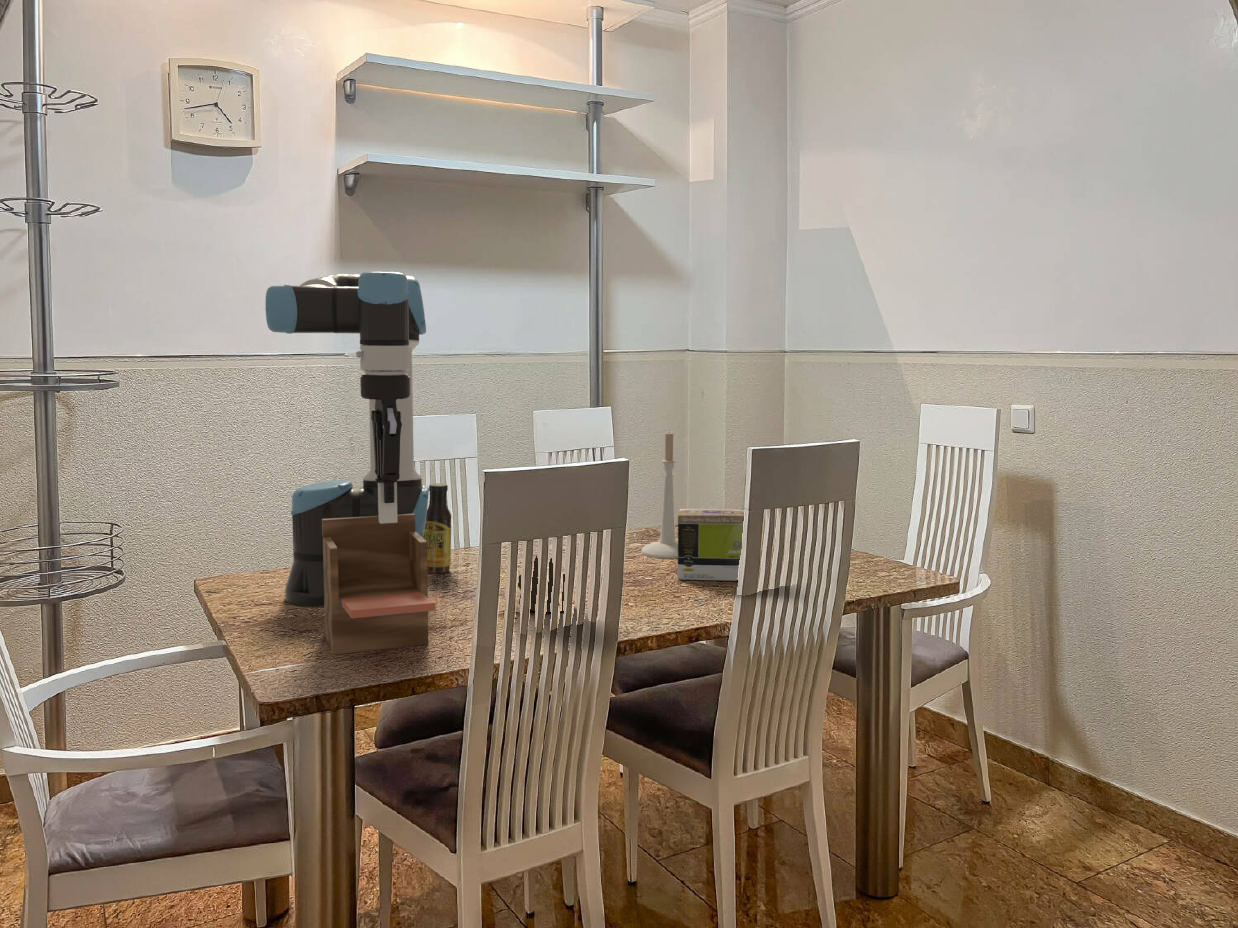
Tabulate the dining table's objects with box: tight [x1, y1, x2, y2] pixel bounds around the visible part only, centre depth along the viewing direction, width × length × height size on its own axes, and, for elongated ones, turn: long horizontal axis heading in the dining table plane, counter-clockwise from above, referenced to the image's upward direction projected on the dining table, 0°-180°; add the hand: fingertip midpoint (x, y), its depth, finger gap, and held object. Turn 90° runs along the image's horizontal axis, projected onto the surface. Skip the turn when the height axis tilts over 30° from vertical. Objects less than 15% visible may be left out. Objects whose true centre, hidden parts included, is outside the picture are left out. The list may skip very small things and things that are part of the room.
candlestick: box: [640, 432, 678, 560], centre depth 247 cm, size 13×13×30 cm
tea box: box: [677, 507, 744, 582], centre depth 225 cm, size 15×10×15 cm, turn 84°
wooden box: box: [322, 514, 430, 655], centre depth 175 cm, size 11×16×21 cm
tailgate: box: [339, 592, 437, 618], centre depth 164 cm, size 2×14×13 cm
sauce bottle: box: [423, 482, 452, 575], centre depth 226 cm, size 7×6×20 cm
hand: (388, 522), depth 161 cm, fingers closed
